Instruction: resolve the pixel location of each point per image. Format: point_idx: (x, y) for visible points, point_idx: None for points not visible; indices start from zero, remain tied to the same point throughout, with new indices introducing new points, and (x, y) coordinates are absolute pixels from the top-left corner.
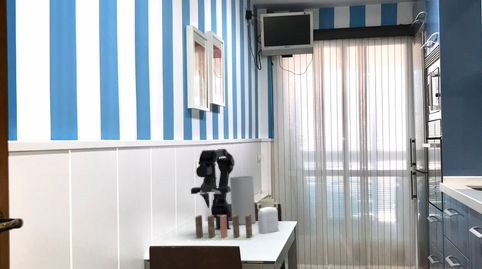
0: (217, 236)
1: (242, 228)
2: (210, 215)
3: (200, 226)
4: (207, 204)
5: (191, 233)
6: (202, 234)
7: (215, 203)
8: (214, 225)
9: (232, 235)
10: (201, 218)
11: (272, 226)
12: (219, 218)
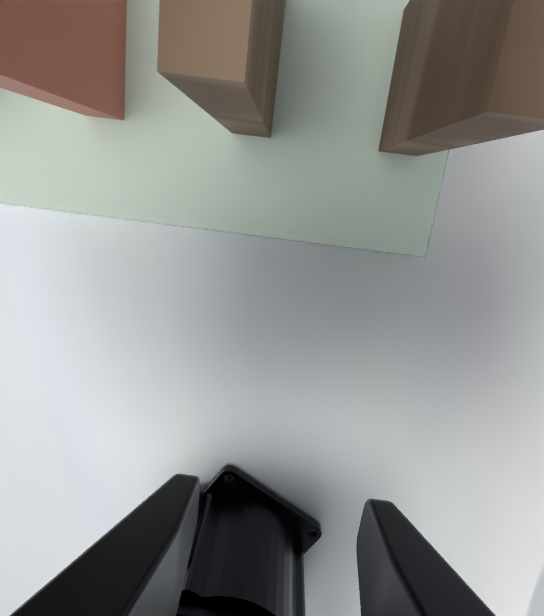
0: (200, 116)
1: (66, 538)
2: (236, 11)
3: (436, 26)
4: (424, 577)
5: (531, 402)
6: (386, 132)
7: (82, 555)
8: (208, 111)
9: (38, 151)
10: (467, 80)
11: None
12: (241, 594)
